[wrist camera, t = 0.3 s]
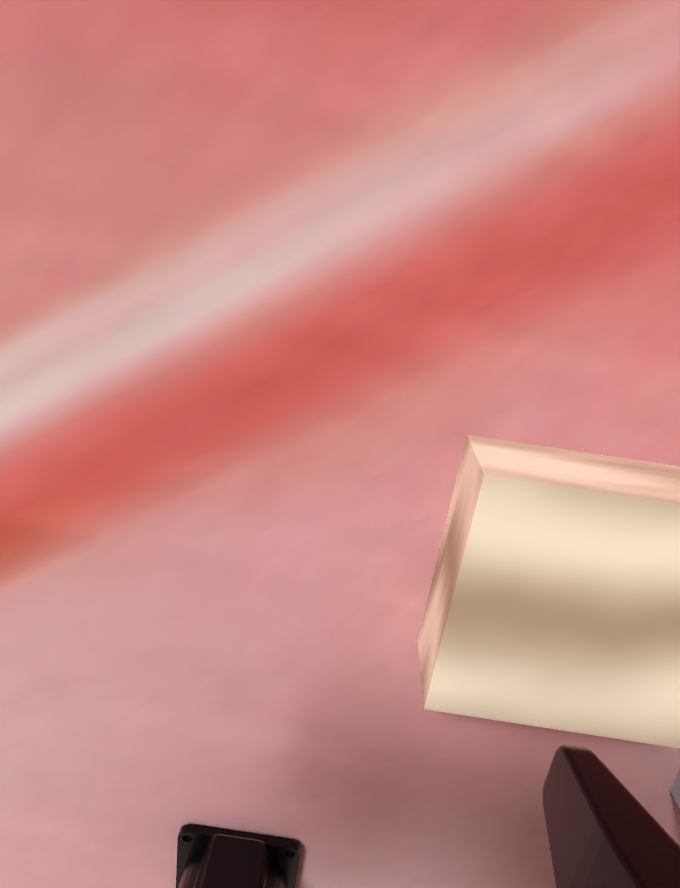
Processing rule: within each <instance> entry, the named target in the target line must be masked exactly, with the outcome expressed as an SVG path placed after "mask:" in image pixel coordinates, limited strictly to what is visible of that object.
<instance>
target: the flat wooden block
mask: <svg viewBox="0 0 680 888" xmlns="http://www.w3.org/2000/svg"><path fill="white" fill-rule="evenodd" d="M418 653H419V663H420V674H421V684H422V694H423V705H424V709H426V710H432V711H439V712H445V713H452V714H458V715H465V716H471V717H478V718H484V719H491V720H497V721H504V722H510V723H517V724H523V725H530V726H536V727H543V728H549V729H556V730H562V731H569V732H575V733H582V734H588V735H595V736H601V737H608V738H614V739H621V740H627V741H634V742H640V743H647V744H653V745H660V746H666V747H673V748H679V749H680V466H673V465H667V464H660V463H653V462H647V461H640V460H633V459H627V458H620V457H613V456H607V455H600V454H593V453H586V452H580V451H573V450H566V449H560V448H553V447H546V446H540V445H533V444H526V443H520V442H513V441H506V440H500V439H493V438H486V437H479V436H473V435H467V436H466V440H465V444H464V449H463V453H462V457H461V461H460V466H459V470H458V474H457V478H456V483H455V487H454V491H453V495H452V500H451V504H450V508H449V512H448V516H447V521H446V525H445V529H444V533H443V538H442V542H441V546H440V550H439V555H438V559H437V563H436V567H435V572H434V576H433V580H432V584H431V589H430V593H429V597H428V601H427V605H426V610H425V614H424V618H423V622H422V627H421V631H420V635H419V639H418Z"/></svg>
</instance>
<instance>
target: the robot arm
mask: <svg viewBox="0 0 680 888" xmlns="http://www.w3.org/2000/svg"><path fill="white" fill-rule="evenodd" d="M543 806H544V812H545V818H546V825H547V831H548V837H549V844H550V850H551V856H552V862H553V869H554V875H555V881H556V888H680V846H679V845H678V844H677V843H676V842H675V841H674V840H673V839H672V837H671V836H670V835H669V834H668V833H667V832H666V831H665V830H664V829H663V828H662V827H661V826H660V824H659V823H658V822H657V821H656V820H655V819H654V818H653V817H652V816H651V815H650V814H649V812H648V811H647V810H646V809H645V808H644V807H643V806H642V805H641V804H640V803H639V802H638V800H637V799H636V798H635V797H634V796H633V795H632V794H631V793H630V792H629V791H628V790H627V789H626V787H625V786H624V785H623V784H622V783H621V782H620V781H619V780H618V779H617V778H616V777H615V775H614V774H613V773H612V772H611V771H610V770H609V769H608V768H607V767H606V766H605V765H604V763H603V762H602V761H601V760H600V759H599V758H598V757H597V756H596V755H595V754H594V753H593V752H592V751H590V750H589V749H586V748H581V747H573V746H566V745H562V746H560V747H559V748H558V749H557V750H556V752H555V755H554V758H553V761H552V763H551V766H550V769H549V772H548V775H547V778H546V780H545V783H544V788H543ZM299 856H300V844H299V843H298V842H296V841H293V840H287V839H281V838H274V837H267V836H261V835H254V834H248V833H241V832H234V831H228V830H221V829H214V828H208V827H201V826H194V825H184V826H182V827H181V829H180V832H179V835H178V847H177V875H176V888H294V887H295V881H296V875H297V868H298V862H299Z"/></svg>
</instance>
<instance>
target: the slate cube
mask: <svg viewBox="0 0 680 888" xmlns="http://www.w3.org/2000/svg"><path fill="white" fill-rule="evenodd" d="M670 792H671V794H672V796H673V798H674V800H675V802H676V804H677V806H678V807H679V809H680V771H679V773H678V775H677V777H676V779H675V781H674V783H673V785H672V787H671V789H670Z"/></svg>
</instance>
